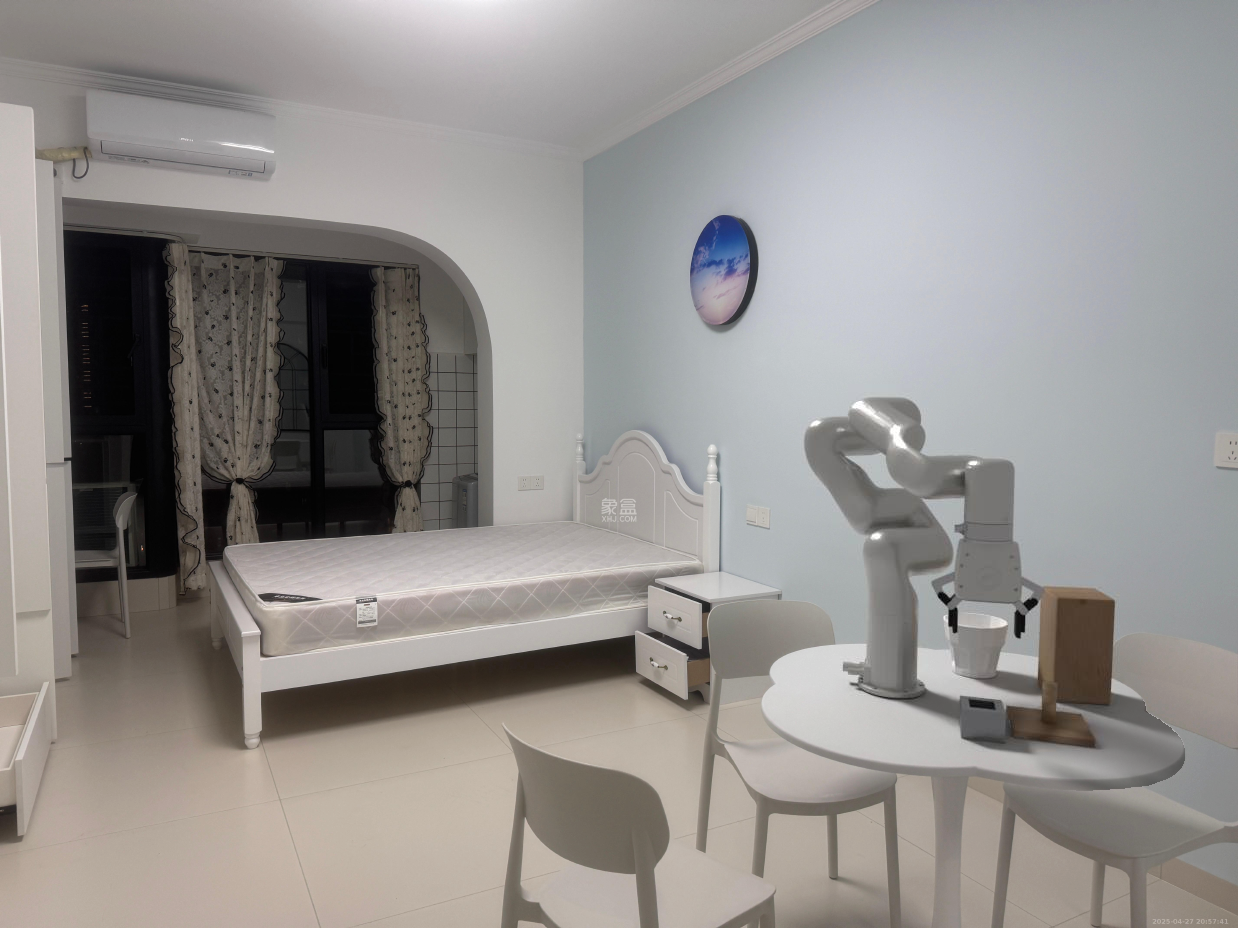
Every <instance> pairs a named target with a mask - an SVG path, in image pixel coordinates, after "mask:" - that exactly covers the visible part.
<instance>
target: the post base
mask: <svg viewBox="0 0 1238 928" xmlns="http://www.w3.org/2000/svg"><path fill="white" fill-rule="evenodd" d="M1041 689H1042V690H1041V693H1042V694H1041V695H1042V696H1041V708H1034V707H1024V706H1016V705H1005V714H1006V716H1007V719H1008V723H1009V726H1010V730H1011V733H1012V735H1013V737H1012V738H1017V739H1026V740H1031V741H1032V740H1033V741H1041V742H1049V743H1056V744H1057V743H1058V744H1063V745H1073V746H1081V747H1087V748H1096V738H1095V737H1094V735H1093V733H1092V731H1091V729H1090V727H1089V726H1088V724H1087V722H1086V721H1085V718H1084V716H1083V715H1082V713H1078V712H1077V713H1075V712H1069V711H1068V712H1067V711H1059V710H1057V683H1055V682H1051V681H1043V687H1042V688H1041Z"/></svg>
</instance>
